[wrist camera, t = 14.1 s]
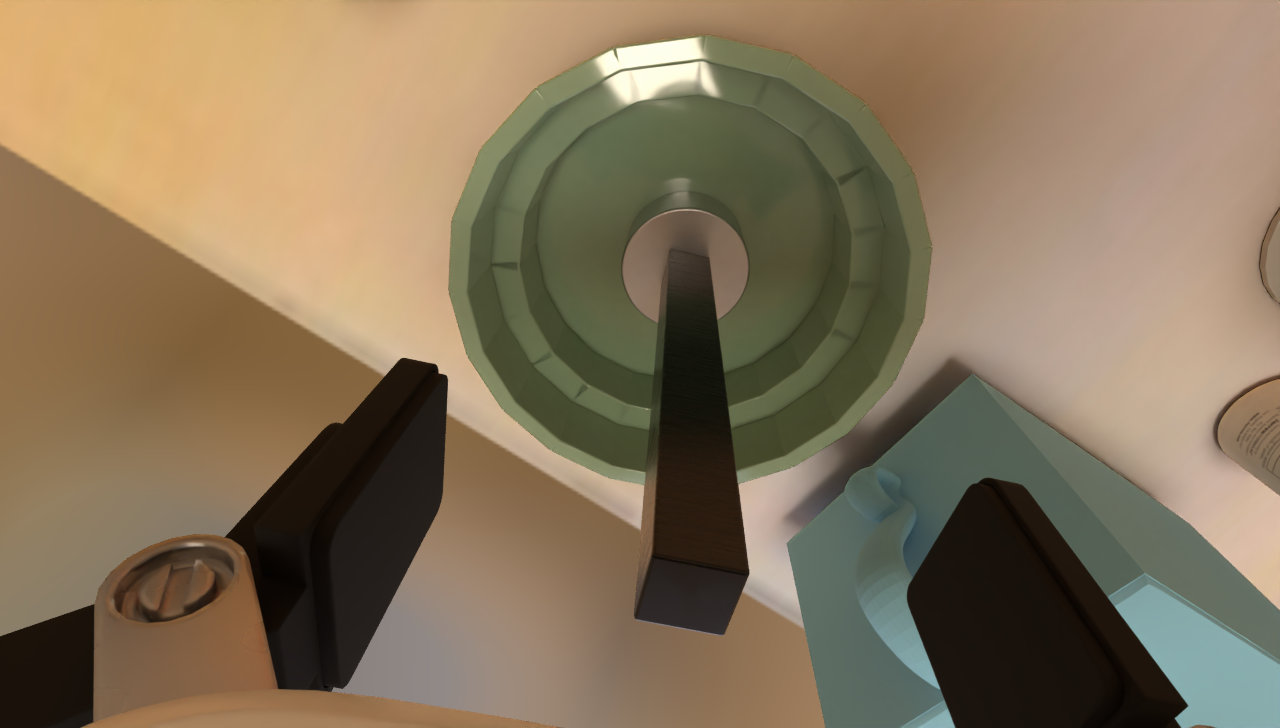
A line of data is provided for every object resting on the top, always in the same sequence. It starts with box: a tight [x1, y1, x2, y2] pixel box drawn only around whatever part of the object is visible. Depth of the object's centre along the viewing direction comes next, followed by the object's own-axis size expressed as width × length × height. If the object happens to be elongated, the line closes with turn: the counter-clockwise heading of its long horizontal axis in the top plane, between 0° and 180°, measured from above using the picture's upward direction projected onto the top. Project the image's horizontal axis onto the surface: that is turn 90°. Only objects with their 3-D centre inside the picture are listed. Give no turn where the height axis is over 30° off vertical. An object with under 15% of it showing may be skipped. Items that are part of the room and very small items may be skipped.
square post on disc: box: [621, 192, 750, 636], centre depth 16 cm, size 4×4×16 cm
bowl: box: [448, 34, 932, 485], centre depth 21 cm, size 14×14×6 cm
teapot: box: [787, 374, 1280, 728], centre depth 23 cm, size 22×11×14 cm, turn 57°
